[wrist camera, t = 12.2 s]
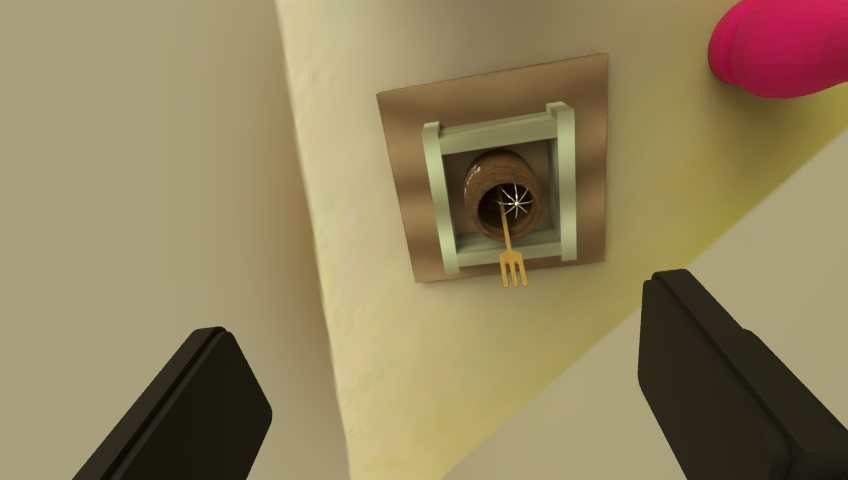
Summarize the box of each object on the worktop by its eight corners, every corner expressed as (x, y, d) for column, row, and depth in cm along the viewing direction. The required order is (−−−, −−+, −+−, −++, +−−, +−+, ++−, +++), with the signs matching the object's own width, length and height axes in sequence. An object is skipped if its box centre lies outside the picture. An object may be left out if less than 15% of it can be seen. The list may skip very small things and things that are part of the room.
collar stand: (379, 92, 35) (367, 101, 30) (601, 53, 33) (627, 56, 28) (416, 275, 43) (411, 306, 38) (599, 254, 40) (619, 284, 35)
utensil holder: (533, 143, 34) (569, 192, 24) (531, 213, 37) (562, 285, 26) (461, 149, 35) (465, 198, 24) (465, 217, 38) (469, 289, 27)
